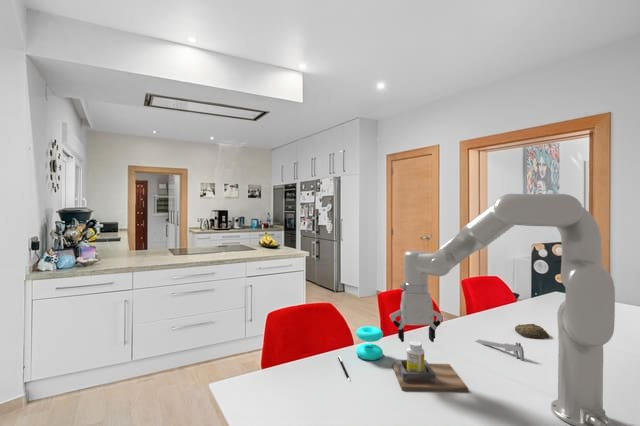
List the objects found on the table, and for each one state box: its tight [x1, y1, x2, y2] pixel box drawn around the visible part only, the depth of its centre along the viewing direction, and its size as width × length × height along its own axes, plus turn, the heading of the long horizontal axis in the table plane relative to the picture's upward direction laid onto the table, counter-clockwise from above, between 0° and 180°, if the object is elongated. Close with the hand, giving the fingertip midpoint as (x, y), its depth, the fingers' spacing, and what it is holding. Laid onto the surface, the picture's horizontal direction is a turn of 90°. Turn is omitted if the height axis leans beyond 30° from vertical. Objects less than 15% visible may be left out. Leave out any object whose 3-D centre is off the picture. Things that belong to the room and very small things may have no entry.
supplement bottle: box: [406, 340, 425, 372], centre depth 111 cm, size 6×6×10 cm
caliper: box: [474, 338, 525, 361], centre depth 133 cm, size 20×1×6 cm, turn 26°
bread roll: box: [514, 323, 550, 340], centre depth 152 cm, size 13×12×5 cm
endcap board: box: [391, 359, 469, 393], centre depth 111 cm, size 16×20×4 cm
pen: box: [337, 355, 351, 383], centre depth 117 cm, size 1×19×1 cm, turn 8°
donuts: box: [355, 325, 384, 361], centre depth 128 cm, size 10×10×10 cm
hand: (416, 340), depth 111 cm, fingers open, 9 cm apart
